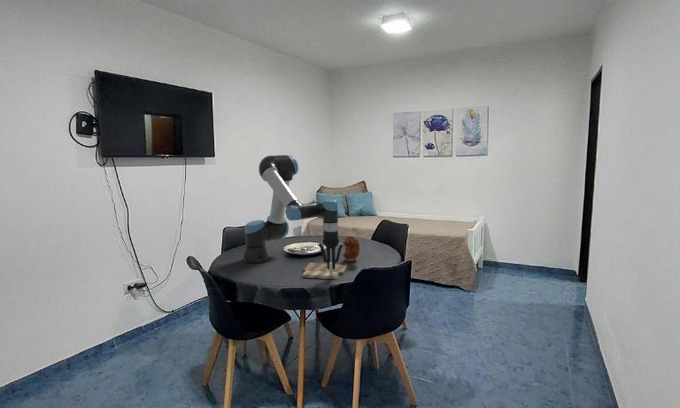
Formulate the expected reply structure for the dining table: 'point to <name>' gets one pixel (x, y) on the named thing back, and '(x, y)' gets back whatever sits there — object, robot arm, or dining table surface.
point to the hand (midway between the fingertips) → (331, 275)
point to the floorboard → (325, 267)
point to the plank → (320, 274)
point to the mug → (351, 248)
